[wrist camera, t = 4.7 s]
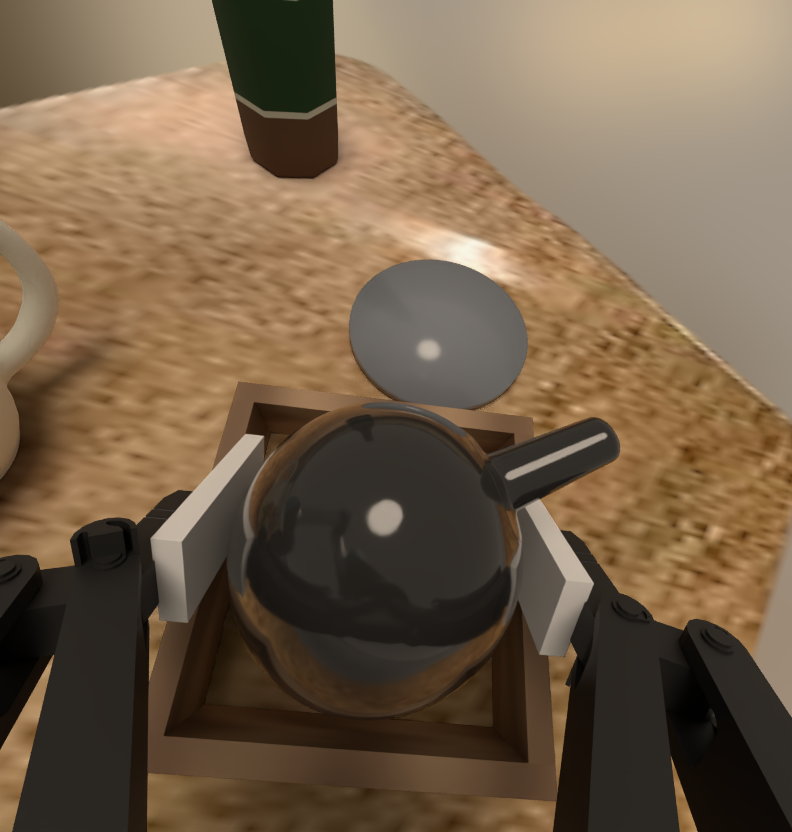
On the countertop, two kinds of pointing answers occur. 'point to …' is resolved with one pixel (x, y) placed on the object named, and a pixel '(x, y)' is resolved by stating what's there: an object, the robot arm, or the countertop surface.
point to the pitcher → (23, 331)
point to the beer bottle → (283, 81)
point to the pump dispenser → (389, 553)
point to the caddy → (337, 737)
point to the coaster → (437, 335)
